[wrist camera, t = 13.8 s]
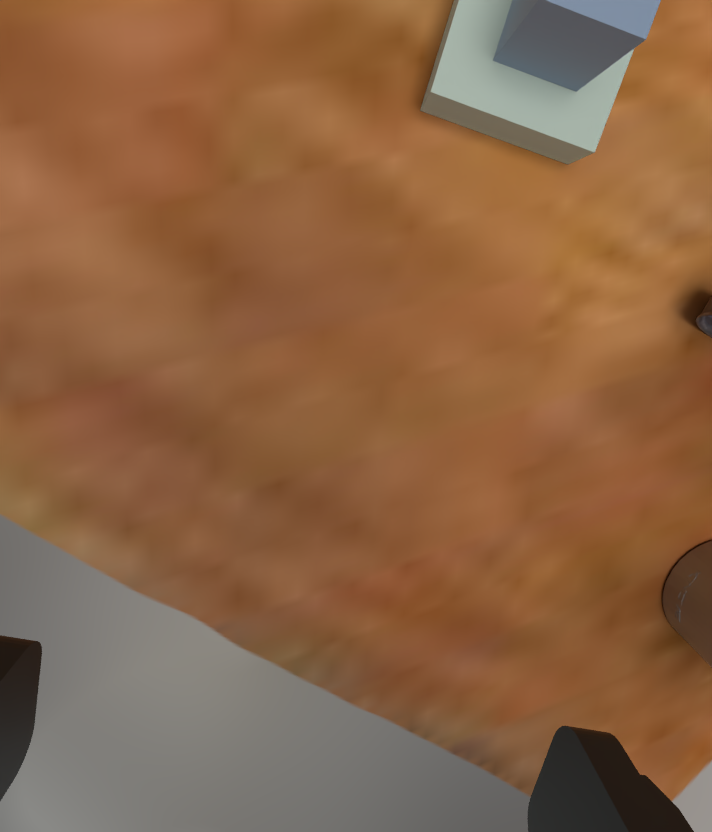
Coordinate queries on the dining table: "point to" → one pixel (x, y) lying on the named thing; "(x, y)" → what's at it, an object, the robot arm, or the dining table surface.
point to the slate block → (572, 37)
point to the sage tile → (514, 90)
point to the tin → (706, 319)
